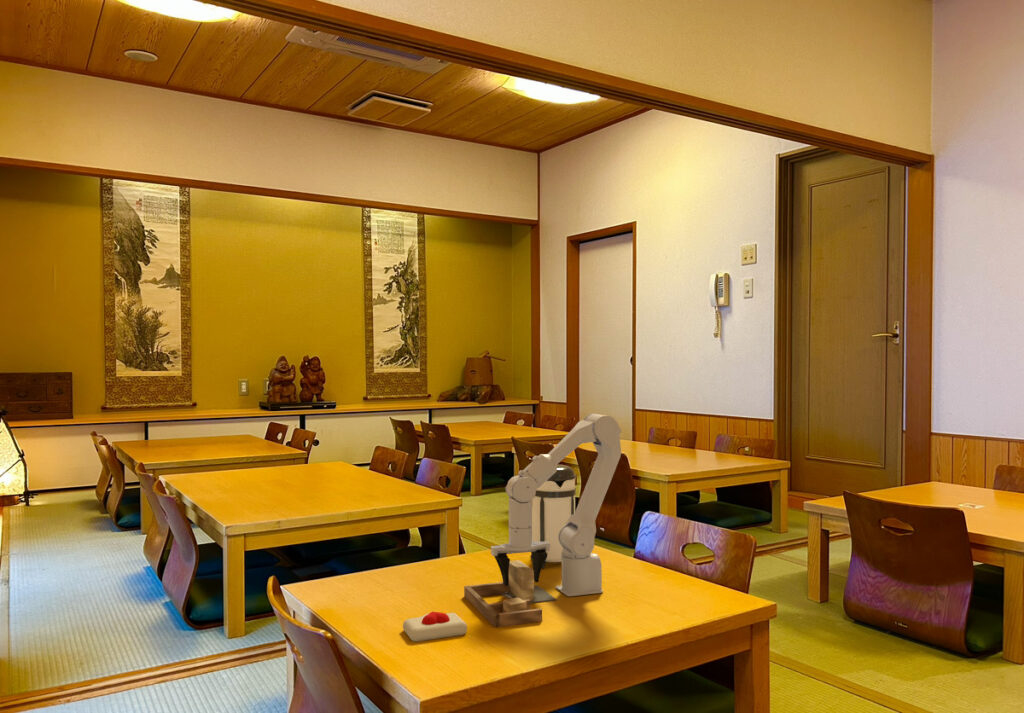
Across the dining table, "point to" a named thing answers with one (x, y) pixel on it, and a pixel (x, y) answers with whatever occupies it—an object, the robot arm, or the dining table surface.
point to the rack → (499, 606)
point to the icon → (434, 626)
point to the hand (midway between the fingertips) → (520, 582)
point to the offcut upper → (514, 605)
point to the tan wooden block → (521, 580)
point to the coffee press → (553, 510)
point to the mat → (538, 595)
